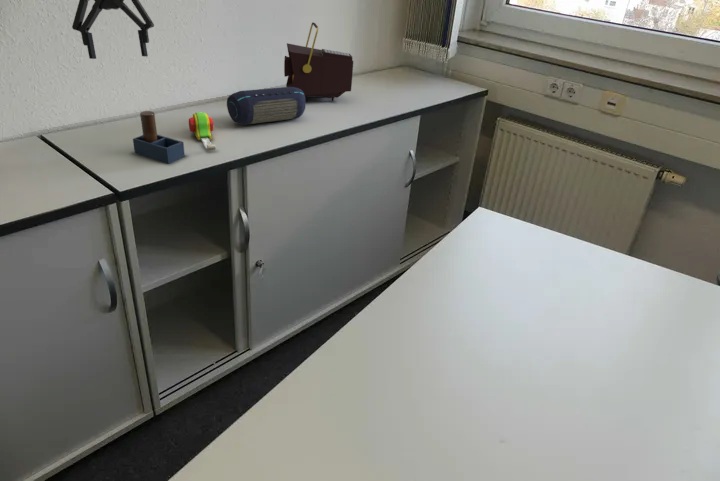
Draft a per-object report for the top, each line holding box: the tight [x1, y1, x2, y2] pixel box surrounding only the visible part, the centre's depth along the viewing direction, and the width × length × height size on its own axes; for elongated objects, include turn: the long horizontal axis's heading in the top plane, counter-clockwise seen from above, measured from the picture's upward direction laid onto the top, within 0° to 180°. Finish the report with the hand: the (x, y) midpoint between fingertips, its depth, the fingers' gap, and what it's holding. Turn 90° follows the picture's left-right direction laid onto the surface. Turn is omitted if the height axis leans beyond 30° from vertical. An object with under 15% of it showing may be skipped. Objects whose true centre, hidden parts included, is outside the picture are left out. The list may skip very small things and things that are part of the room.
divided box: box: [132, 134, 185, 165], centre depth 141 cm, size 6×11×4 cm, turn 64°
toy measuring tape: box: [188, 111, 217, 151], centre depth 152 cm, size 6×19×7 cm, turn 25°
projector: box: [283, 21, 354, 102], centre depth 189 cm, size 16×23×25 cm
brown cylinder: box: [139, 110, 158, 143], centre depth 140 cm, size 3×3×10 cm
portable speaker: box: [226, 86, 307, 125], centre depth 168 cm, size 25×10×10 cm, turn 126°
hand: (119, 57), depth 145 cm, fingers open, 13 cm apart
